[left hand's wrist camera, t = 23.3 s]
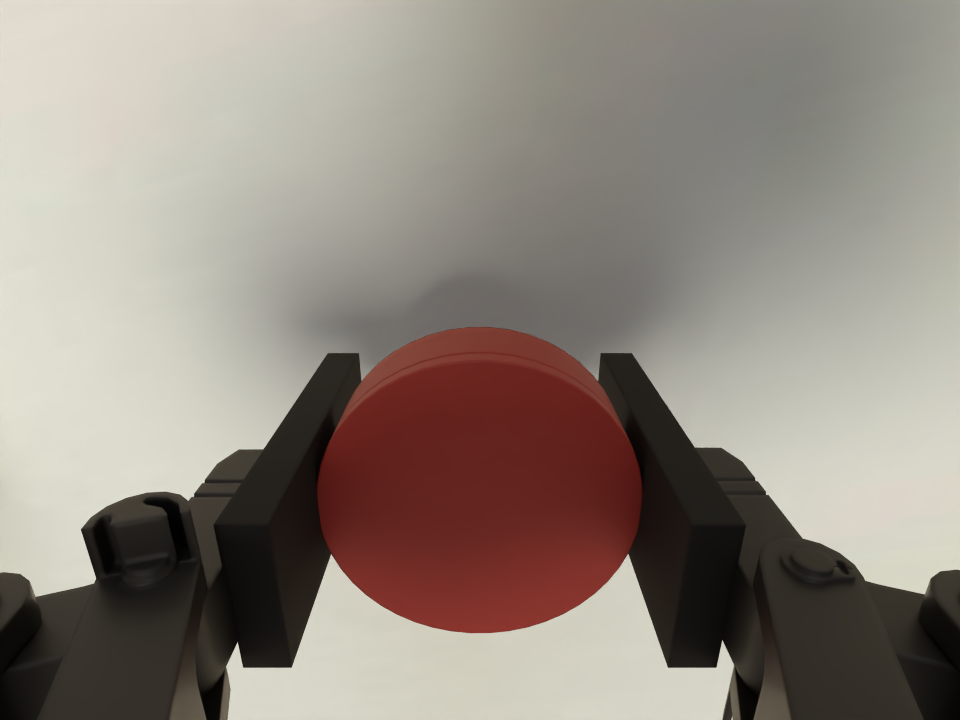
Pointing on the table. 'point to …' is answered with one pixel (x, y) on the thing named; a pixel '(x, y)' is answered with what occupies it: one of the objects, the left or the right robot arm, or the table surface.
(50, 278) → the table surface
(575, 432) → the lid
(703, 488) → the left robot arm
